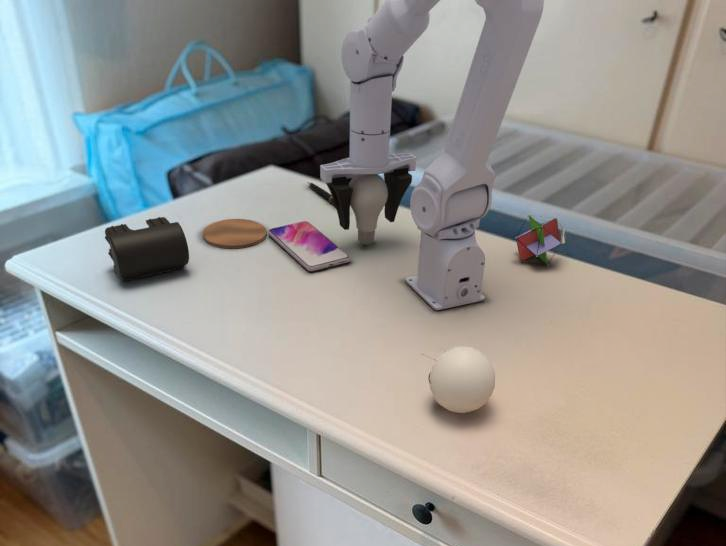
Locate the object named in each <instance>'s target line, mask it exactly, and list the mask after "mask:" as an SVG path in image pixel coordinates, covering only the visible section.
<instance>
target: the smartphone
mask: <svg viewBox="0 0 726 546" xmlns="http://www.w3.org/2000/svg"><path fill="white" fill-rule="evenodd" d="M267 233H268V236H270V237H271V238H272V240H274V241H275V242H276V243H277V244H278V245H279V246H280V247H282V248H283V249H284V250H285V251H286V252H287V253H288V254H289V255H290V256H292V258H294V259H295V260H296V261H297V262H298V263H299V264H300V265H301V266H302V267H303V268H305V269H306V270H307V271H309V272H315V271H319V270H320V271H321V270H323V269H328V268H331V267H335V266H339V265H343V264H346V263H349V262H351V256H350V254H348V253H347V252H346V251H344V249H342V248H341V247H340V246H338V245H337V244H336V243H335V242H333V241H332V240H331V239H330V238H329V237H327V236H326V235H325V234H323V232H322V231H320V230H319V229H318V228H316V227H315V226H314V225H313V224H311V222H309V221H306V220H304V221H299V222H294V223H290V224H285V225H282V226H275V227H273V228H269V229H268V232H267Z"/></svg>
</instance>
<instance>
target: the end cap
mask: <svg viewBox="0 0 726 546" xmlns="http://www.w3.org/2000/svg"><path fill="white" fill-rule="evenodd" d="M145 223H146V225H147V226H148V227H143V228H139V229H138V228H137V229H131V228H130V227H129V226H128V225H127V224H126V223H124V224H123V223H121V224H118V225H111V226H108V227H106V228H105V230H104V235H105V236H104V239H105V241H106V242H107V243H108V245H109V248H108V252H107V254H108V255H109V257H110V259H111V260H112V262H113V271H114V272H115V275H116V277H117V278H118V279H120V281H122V282H125V281H129V280H134V279H139V278H144V277H148V276H153V275H157V274H161V273H166V272H171V271H175V270H180V269H184V268H185V266H187V265H188V264H189V261H190V251H189V245H188V241H187V237H186V235H185V232H184V230H183V228H182V226H181V224H180V223H179V222H178V221H176V222H175V221H174V222H170V221H169V220H168V219H167V218H166V217H165V216H161V217H160V216H158V217H155V218H149V219H146V220H145Z"/></svg>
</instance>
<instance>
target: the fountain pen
mask: <svg viewBox="0 0 726 546" xmlns="http://www.w3.org/2000/svg"><path fill="white" fill-rule="evenodd" d="M307 185H309V186H308V187H309V188H311V189H312V190H313V191H314V192H316V193H317V194H319V195H320V197H322V198H323V199H325V200H327V201H328V202H329V203H330V204H331V205H333V206H334V207H336V206H335V203H334V200H333V197H332V195H331V193H330V192H328V191H326V190H325V189H323V188H321V187H320V186H318V185H316V184H315V183H313V182H309V181H307Z"/></svg>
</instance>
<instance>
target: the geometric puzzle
mask: <svg viewBox="0 0 726 546" xmlns="http://www.w3.org/2000/svg"><path fill="white" fill-rule="evenodd" d="M539 217H542V215H541V216H539ZM549 218H552V217H551V216H550V217H549ZM527 219H528V220H529V221H528V222H529V226H530V229H529V230H527V231H525V232H523V233H521V231H522V229H523V228H524V225H522V226H521V228H520V229H519V231H518V233H517V235H516V236H515V241H516V246H517V250H518V256H519V257H518V258H519V263H523V262H525V263H527V264H529V262H526V261H528V260H531V259H533V258H538V260H540V261H541V262H543V265H544V266H549V262H548V256H547V252H548V251H550V250H553V249H554V248H555V250H554V252H553V255H552V256H551V258H550V261H552V260H553V258H554V256H555V254H556V253H557V252H558V250H559V249H557V248H558V247H559V246H561V245H563V244H566V238H565V236H566V231H565V228H564V227H563V226H562V225H561V223H560V221H558V217H554V218H552V219H551V220H549V221H545V222H543V223H539V222H538V221H536V219H534V218H533V215H530V214H528V215H527V218H526V219H525V220H524V221H523V222H524V223H523V224H525V223H526V221H527ZM559 226H560V227H559ZM559 228H561V233H560V229H559ZM520 233H521V234H520ZM534 264H535V265H537V264H538V263H535V262H534Z"/></svg>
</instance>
